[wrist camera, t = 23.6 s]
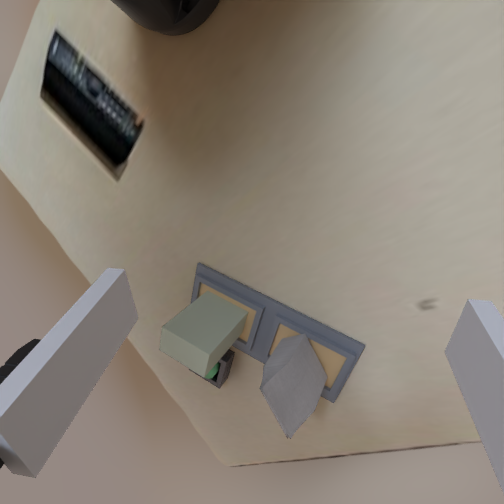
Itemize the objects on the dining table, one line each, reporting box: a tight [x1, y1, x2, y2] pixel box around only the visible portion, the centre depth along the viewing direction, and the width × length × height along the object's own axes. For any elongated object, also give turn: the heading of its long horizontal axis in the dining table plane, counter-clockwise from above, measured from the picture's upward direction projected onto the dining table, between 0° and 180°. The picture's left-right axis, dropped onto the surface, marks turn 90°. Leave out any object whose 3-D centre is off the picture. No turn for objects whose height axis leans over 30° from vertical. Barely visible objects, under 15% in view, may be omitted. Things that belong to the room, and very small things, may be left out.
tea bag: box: [260, 334, 328, 439], centre depth 40 cm, size 4×7×10 cm, turn 30°
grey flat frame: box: [191, 263, 365, 403], centre depth 46 cm, size 25×11×1 cm, turn 75°
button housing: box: [189, 349, 234, 389], centre depth 52 cm, size 6×6×2 cm
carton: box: [159, 291, 248, 377], centre depth 44 cm, size 7×4×10 cm, turn 75°
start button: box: [204, 362, 221, 379], centre depth 52 cm, size 4×4×2 cm
